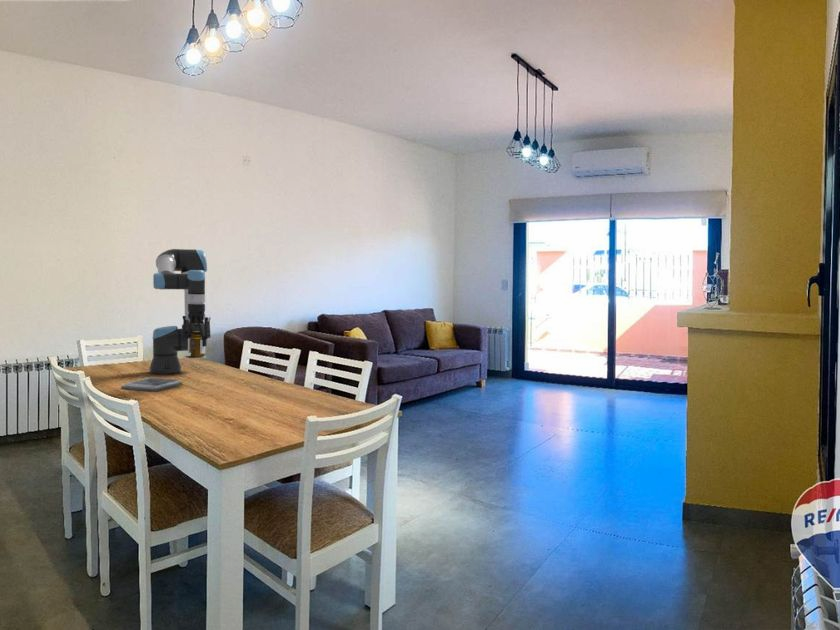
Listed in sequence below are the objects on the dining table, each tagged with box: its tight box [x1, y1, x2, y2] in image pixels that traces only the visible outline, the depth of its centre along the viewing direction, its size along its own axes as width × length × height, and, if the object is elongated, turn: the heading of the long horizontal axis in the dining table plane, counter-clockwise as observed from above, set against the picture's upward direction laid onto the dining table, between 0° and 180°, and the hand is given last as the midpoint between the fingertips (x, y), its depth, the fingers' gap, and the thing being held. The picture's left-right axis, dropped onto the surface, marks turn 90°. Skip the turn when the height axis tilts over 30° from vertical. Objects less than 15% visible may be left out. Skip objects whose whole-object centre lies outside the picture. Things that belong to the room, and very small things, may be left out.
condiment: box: [183, 331, 207, 359], centre depth 284 cm, size 7×8×12 cm
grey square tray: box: [120, 377, 184, 393], centre depth 275 cm, size 18×18×2 cm
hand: (196, 352), depth 284 cm, fingers closed on condiment, 6 cm apart
